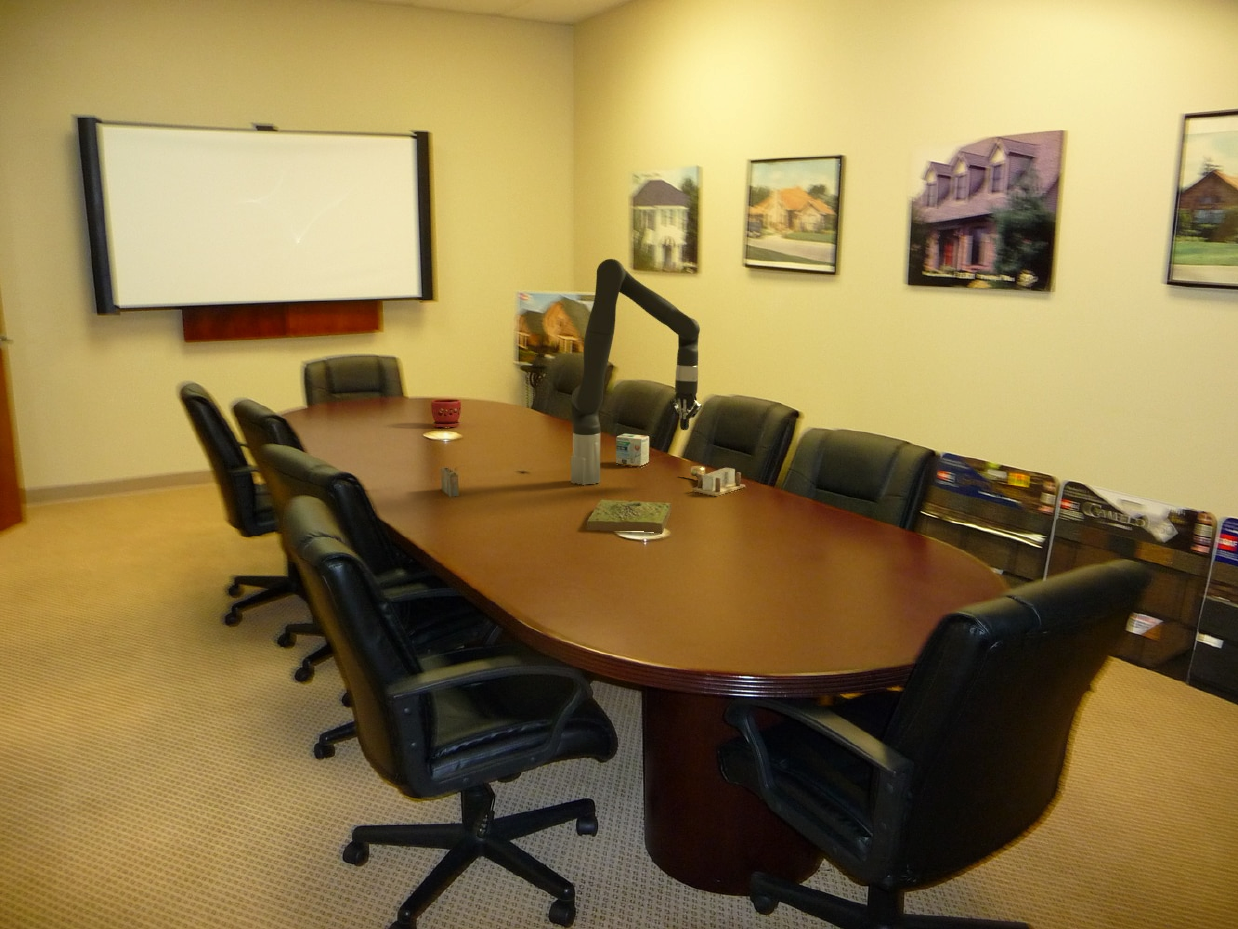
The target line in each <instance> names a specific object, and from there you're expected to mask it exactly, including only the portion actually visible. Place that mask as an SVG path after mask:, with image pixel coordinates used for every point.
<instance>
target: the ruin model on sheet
mask: <svg viewBox="0 0 1238 929" xmlns="http://www.w3.org/2000/svg"><path fill="white" fill-rule="evenodd" d="M440 469H441V470H440V472H441V473H440V474H441V490H442V491H443V492H444V493H445V494H446V495H447V496H449V497H450V498H455V497H454V496H459V493H460V492H459V474H457V472H458V471H459V469H460V467H459V468H458V466H455V467H454V470H452V468H450V467H441V468H440Z"/></svg>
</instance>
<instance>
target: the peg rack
mask: <svg viewBox="0 0 1238 929" xmlns="http://www.w3.org/2000/svg"><path fill="white" fill-rule="evenodd" d="M720 469H721V468H718V470H720ZM741 475H742V473H741V472H738V471H737V472H736V471H735V482H734V484H732V485H729V486H726V487H723V488H720V481H721V478H716V483H715V491H707V490H703V474H698V481H697V486H696V487H693V488H692V492H693V491H696V492H699V493H698V494H700V493H704V494H708V495H707V496H709V495H713V496H712V497H714V496H718V495H721V494H724V495H726V494H725V493H728V492H731V491H734V490H737V489H740V488H743V487H745V488H746V484H743V483H741V478H742V477H741ZM731 493H732V492H731ZM704 494H703V495H704ZM728 494H729V493H728ZM721 496H722V495H721ZM718 497H719V496H718Z"/></svg>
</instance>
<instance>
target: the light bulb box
mask: <svg viewBox="0 0 1238 929" xmlns="http://www.w3.org/2000/svg"><path fill="white" fill-rule="evenodd" d="M615 441H616V442H615V444H616V445H615V446H616V447H615V448H616V449H615V450H616V451H615V464H616V463H623V464H631V465H639V466H641V465H644V464H646V463H648V462H650V456H649V455H650V436H648V435H641V434H631V433H623V434H620V435H618V436H616V440H615Z"/></svg>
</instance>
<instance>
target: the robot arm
mask: <svg viewBox="0 0 1238 929" xmlns="http://www.w3.org/2000/svg"><path fill="white" fill-rule="evenodd" d="M595 281H596V282H595V291H594V292H595V294H594V300H593V304H592V307H591V310H590V312H589V317H588V321H587V325H586V330H585V335H584V341H583V372H582V378H581V381H580V384H579V385H578V386H577V387H576V388H574V389H573V391H572V394H571V401H570V403H571V404H570V405H571V406H570V407H571V424H572V433H573V434H572V455H570V468H571V469H570V481H571V482H570V483H571V484H575V483H577V484H576V485H579V484H582V485H581V486H583V485H584V486H586V485H585V484H594V485H596V484H595V483H598V484H600V483H601V424H600V418H599V417H600V416H599V410H600V408H601V407H602V404H603V399H604V398H603V396H604V385H605V383H604V382H605V375H606V371H607V367H608V363H609V359H610V354H611V350H612V347H613V346H612V344H613V339H614V334H615V327H616V312H617V311H616V309H617V302H618V298H619V293H620V294H622V295H623V296H625V297H627V298H629V299H630V300H631V301H633V302H634V303H635V304H636V305H637V306H639V307H640V308H641V309H642V310H644V311H645V312H646V313H647V314H648V315H650V316H651V317H652V318H654V319H655V320H657V321H659V322H660V324H663V325H664V326H666V327H668V328H669V329H670V330H671V331H673V333H674V334H676V335H677V338H678V340H677V341H678V342H677V343H678V345H677V346H678V349H677V354H676V355H677V356H676V369H675V382H674V392H675V395H674V398H673V399H671V400H669V402H668V403H669V405H670V406H671V409H672V410H673V413H674V414H675V416H676V417H678V418H679V421H680V422H679V428H680V430H681V431H688V429H689V428H690V419H693V418H695V417H696V416H697V414H698V413H699V411H700V410H701V409H702V408H703V406H702V404H701V403H700V404H699V402H698V398H697V393H698V386H699V385H698V384H699V383H698V382H699V349H698V347H699V346H698V345H699V338H700V337H699V335H700V332H701V327H700V325H699V322H698V321H697V320H696V319H694V318H692V317H690V316H688V315H687V314H685V313H684V312H682V311H681V310H679V309H678V308H677V307H676V305H674V304H673V303H671V302H670V301H669V300H667V299H666V298H665V297H663V296H662V295H660V294H658V293H657V292H656V291H654V290H652V289H650V288H649V287H647V286H645V285H644V284H643V283H641V281H638V280H637V279H636V278H635V277H634V276H633V275H631V273H629V272H628V271H627V270H626V268H624V265H623V264H622V263H621V262H620V261H618V260H617V259H613V258H608V259H605V260H603V261H601V262H600V263H599V265H598V266H597V270H596V280H595Z"/></svg>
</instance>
